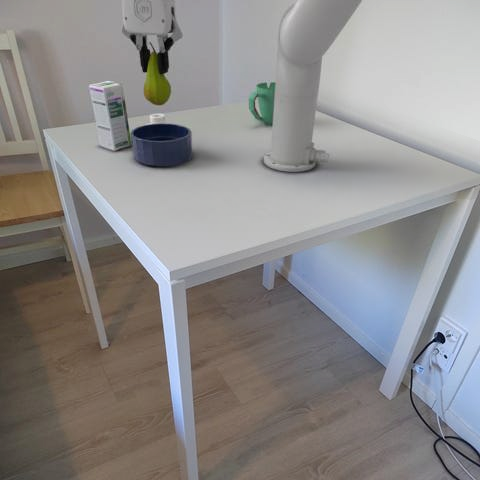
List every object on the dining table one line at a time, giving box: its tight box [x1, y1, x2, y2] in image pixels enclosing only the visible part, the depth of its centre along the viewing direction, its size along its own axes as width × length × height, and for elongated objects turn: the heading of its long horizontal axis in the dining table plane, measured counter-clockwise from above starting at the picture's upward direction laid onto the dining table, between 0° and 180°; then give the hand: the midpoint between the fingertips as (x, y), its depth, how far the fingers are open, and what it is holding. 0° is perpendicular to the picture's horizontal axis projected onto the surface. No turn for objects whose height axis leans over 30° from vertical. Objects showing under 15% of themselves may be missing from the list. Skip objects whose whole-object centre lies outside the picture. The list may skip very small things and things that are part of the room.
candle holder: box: [145, 113, 171, 125], centre depth 119 cm, size 12×12×4 cm
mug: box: [248, 81, 276, 126], centre depth 125 cm, size 15×10×10 cm
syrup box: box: [88, 80, 132, 152], centre depth 106 cm, size 6×6×14 cm
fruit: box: [143, 41, 172, 106], centre depth 93 cm, size 6×6×12 cm
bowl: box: [130, 122, 193, 167], centre depth 103 cm, size 14×14×6 cm
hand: (155, 71), depth 92 cm, fingers closed on fruit, 3 cm apart
